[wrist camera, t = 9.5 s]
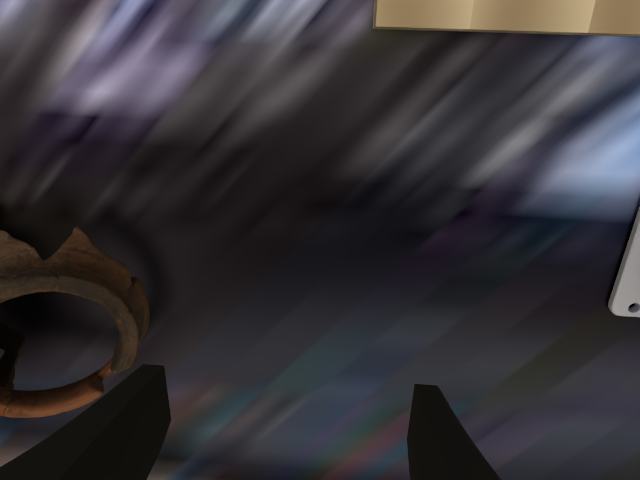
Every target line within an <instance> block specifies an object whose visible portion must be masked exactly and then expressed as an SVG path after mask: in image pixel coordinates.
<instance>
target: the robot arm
mask: <svg viewBox="0 0 640 480" xmlns="http://www.w3.org/2000/svg"><path fill="white" fill-rule="evenodd" d="M633 303H636V304H635V305H634V307H632V308H628V307H629V306H630V305H631V304H633ZM608 307H609V309H610V310H611V311H612V313H614V314H615V315H618V316H630V317H640V207H639V210H638V213H637V216H636V219H635V222H634V225H633V228H632V232H631V235H630V238H629V241H628V244H627V247H626V250H625V253H624V256H623V259H622V262H621V265H620V269H619V272H618V275H617V278H616V281H615V284H614V287H613V290H612V293H611V296H610V299H609V302H608ZM170 422H171V415H170V408H169V400H168V393H167V385H166V377H165V370H164V366H159V365H146V364H143V365H142V366H141V367H139V368H138V369H137V370H136V371H134V372H133V373H132V374H131V375H129V376H128V377H127V378H126V379H124V380H123V381H122V382H121V383H119V384H118V385H117V386H116V387H114V388H113V389H112V390H111V391H109V392H108V393H107V394H106V395H104V396H103V397H102V398H101V399H99V400H98V401H97V402H95V403H94V404H93V405H92V406H90V407H89V408H88V409H86V410H85V411H84V412H83V413H81V414H80V415H78V416H77V417H76V418H74V419H73V420H71V421H70V422H69V423H67V424H66V425H65V426H63V427H62V428H60V429H59V430H58V431H56V432H55V433H53V434H52V435H51V436H49V437H48V438H46V439H45V440H43V441H42V442H40V443H39V444H37V445H36V446H34V447H33V448H31V449H29V450H28V451H26V452H25V453H23V454H21V455H20V456H18V457H16V458H15V459H13V460H12V461H10V462H8V463H7V464H5V465H3V466H1V467H0V480H146V479H147V477H148V475H149V473H150V471H151V469H152V467H153V465H154V463H155V461H156V459H157V457H158V455H159V452H160V450H161V447H162V444H163V442H164V439H165V436H166V433H167V430H168V427H169V425H170ZM407 444H408V459H409V472H410V479H411V480H501V479H500V477H499V476H498V475H497V474H496V472H495V471H494V470H493V468H492V467H491V466H490V465H489V463H488V462H487V461H486V459H485V458H484V457H483V455H482V454H481V452H480V451H479V450H478V448H477V447H476V445H475V444H474V442H473V441H472V440H471V438H470V437H469V435H468V434H467V432H466V431H465V429H464V428H463V426H462V425H461V423H460V422H459V420H458V419H457V417H456V415H455V414H454V412H453V411H452V409H451V407H450V406H449V404H448V402H447V401H446V399H445V397H444V395H443V394H442V392H441V390H440V389H439V388H438V386H435V385H421V384H415V386H414V393H413V400H412V407H411V414H410V422H409V429H408V436H407Z"/></svg>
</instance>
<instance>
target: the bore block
mask: <svg viewBox="0 0 640 480" xmlns="http://www.w3.org/2000/svg"><path fill="white" fill-rule="evenodd" d="M373 29H397V30H430V31H464V32H497V33H530V34H564V35H597V36H630V37H640V0H375V3H374V17H373Z"/></svg>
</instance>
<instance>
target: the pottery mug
mask: <svg viewBox="0 0 640 480" xmlns="http://www.w3.org/2000/svg"><path fill="white" fill-rule="evenodd" d="M50 291H55V292H56V291H57V292H61V293H69V294H72V295H76V296H80V297H83V298H86V299H89V300H91V301H93V302H95V303H97V304H99V305H101V306H102V307H103V308H104V309H106V311H107V312H109V314H110V315H111V316H112V317H113V318H114V321H115V323H116V325H117V327H118V331H119V341H118V345H117V347H116V349H115V353H114V356H113V357H112V359H111V360H110V361H109V362H108V363H107V364H106V365H105V366H104V367H103V368H101V369H100V370H98V371H96V372H95V373H93V374H91V375H90V376H88V377H86V378H84V379H82V380H79V381H77V382H75V383H71V384H68V385H66V386H62V387H58V388H52V389H47V390H37V391H22V390H13V389H14V384H13V379H14V376H15V364H16V362H17V359H18V358H19V356H20V354H21V347H22V346H23V344H24V343H25V341H26V338H25V336H23V335H22V334H20V333H18V332H16V331H14V330H13V329H11V328H10V327H9V326H8V325H7V324H6V323H4V322H0V416H7V417H12V418H13V417H18V418H25V417H26V418H30V417H44V416H50V415H55V414H58V413H62V412H67V411H70V410H73V409H76V408H79V407H81V406H83V405H85V404H88V403H89V402H92V401H93V400H95V399H97V398H98V397H100V396H101V395H102V394H103V393H104V387H103V383H102V381H103V379H104V378H106V377H107V376H109V375H110V374H111V373H119V372H121V371H124V370H126V369H128V368H130V367H131V366H132V365H133V363H134V361H135V357H136V355H137V351H138V345H139V344H140V342H141V340H142V338H143V337H144V335H145V334H146V333H147V331H148V328H149V320H150V310H149V302H148V298H147V295H146V292H145V290H144V287H143V284H142V282H141V280H140V279H139V278H137V277H131V271H130V269H129V268H128V267H127V266H125V265H124V264H123V263H121V262H119V261H117V260H115V259H113V258H111V257H110V256H108V255H106V254H105V253H103V252H102V251H101V250H99V249H98V248H97V247H96V246H95V245H94V244H93V243H92V242H91V241H90V239H89V237H88V236H87V235H86V234H85V233H84V232H83V231H82V230H81V229H80V228H79V227H75V228H74V229H73V233H72V234H71V235H70V237H69V238H68V239H67V240H66V241H65V242H64V243H63V244H62V245H61V247H60V248H59V249H58V250H57V251H56V252H55V253H54V254H53V255H52V256H51V257H50V258H48V259H47V260H43V259H42V258H41V257H40V255H39V254H38V252H37V250H36V249H35V248H34V247H32V246H31V245H29V244H27V243H25V242H23V241H21V240H18V239H15V238H13V237H12V236H11V235H10V234H8V233H7V232H5V231H3V230H0V303H2V302H4V301H6V300H9V299H12V298H16V297H19V296H22V295H26V294H31V293H37V292H50Z"/></svg>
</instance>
